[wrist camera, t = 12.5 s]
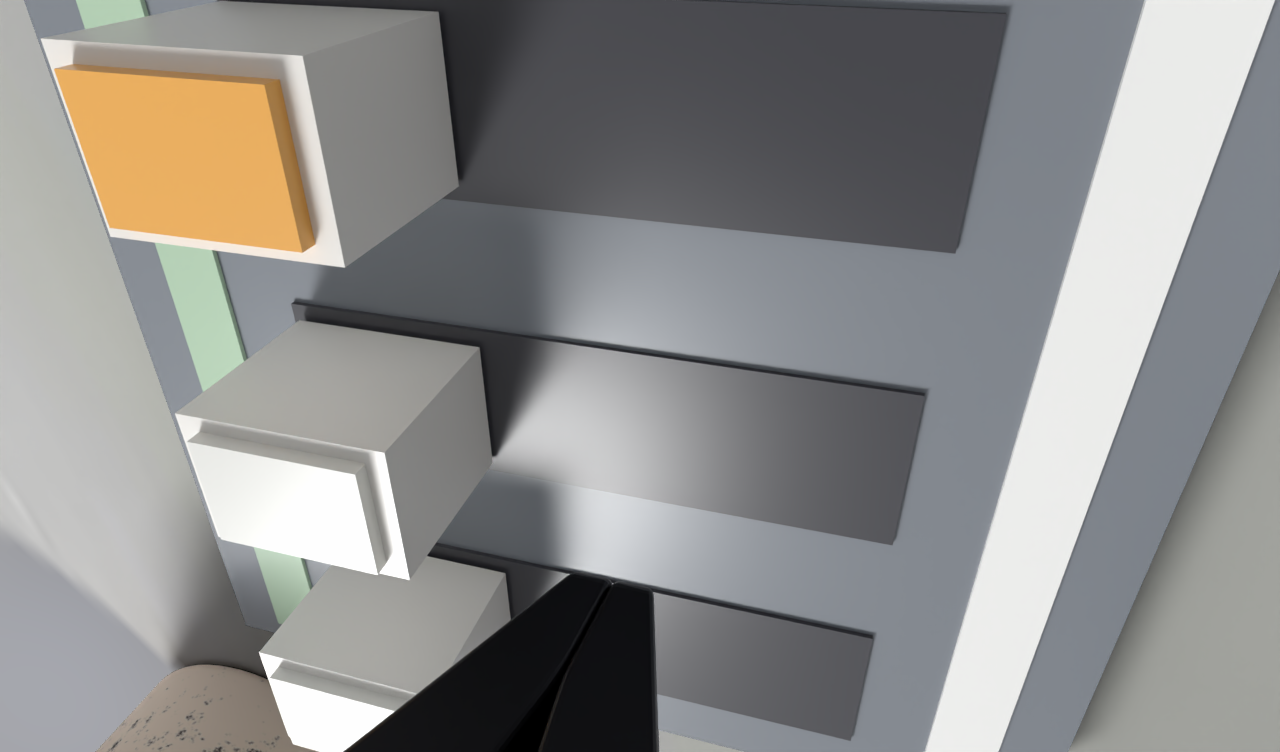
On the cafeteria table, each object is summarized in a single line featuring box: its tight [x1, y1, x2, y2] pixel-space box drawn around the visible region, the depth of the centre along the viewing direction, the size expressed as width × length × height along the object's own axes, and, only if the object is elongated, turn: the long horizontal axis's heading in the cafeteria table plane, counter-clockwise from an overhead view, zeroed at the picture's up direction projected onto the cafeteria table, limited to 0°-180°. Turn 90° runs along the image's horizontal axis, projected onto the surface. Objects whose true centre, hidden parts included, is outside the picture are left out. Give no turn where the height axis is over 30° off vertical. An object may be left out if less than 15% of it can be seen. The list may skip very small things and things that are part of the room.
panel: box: [24, 0, 1280, 752], centre depth 17 cm, size 21×18×2 cm
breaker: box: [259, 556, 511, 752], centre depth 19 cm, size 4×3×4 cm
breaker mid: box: [175, 320, 493, 580], centre depth 16 cm, size 4×3×4 cm
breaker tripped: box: [41, 1, 459, 268], centre depth 13 cm, size 4×3×4 cm
